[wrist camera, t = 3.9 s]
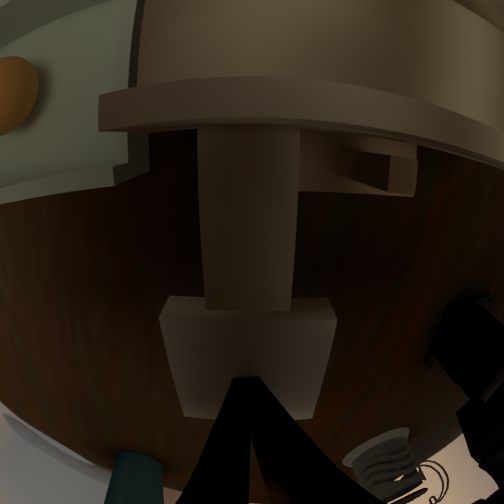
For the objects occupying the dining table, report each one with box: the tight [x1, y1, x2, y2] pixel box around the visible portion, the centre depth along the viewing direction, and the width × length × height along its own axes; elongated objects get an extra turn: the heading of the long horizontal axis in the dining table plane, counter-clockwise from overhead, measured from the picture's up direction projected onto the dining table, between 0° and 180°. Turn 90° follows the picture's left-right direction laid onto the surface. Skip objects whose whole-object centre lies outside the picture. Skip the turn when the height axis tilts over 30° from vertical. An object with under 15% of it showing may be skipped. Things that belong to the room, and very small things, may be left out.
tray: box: [0, 0, 150, 204], centre depth 7 cm, size 11×10×4 cm
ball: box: [0, 56, 38, 136], centre depth 7 cm, size 4×4×4 cm
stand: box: [298, 129, 418, 197], centre depth 8 cm, size 8×12×5 cm, turn 0°
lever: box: [98, 0, 504, 420], centre depth 6 cm, size 16×17×4 cm
